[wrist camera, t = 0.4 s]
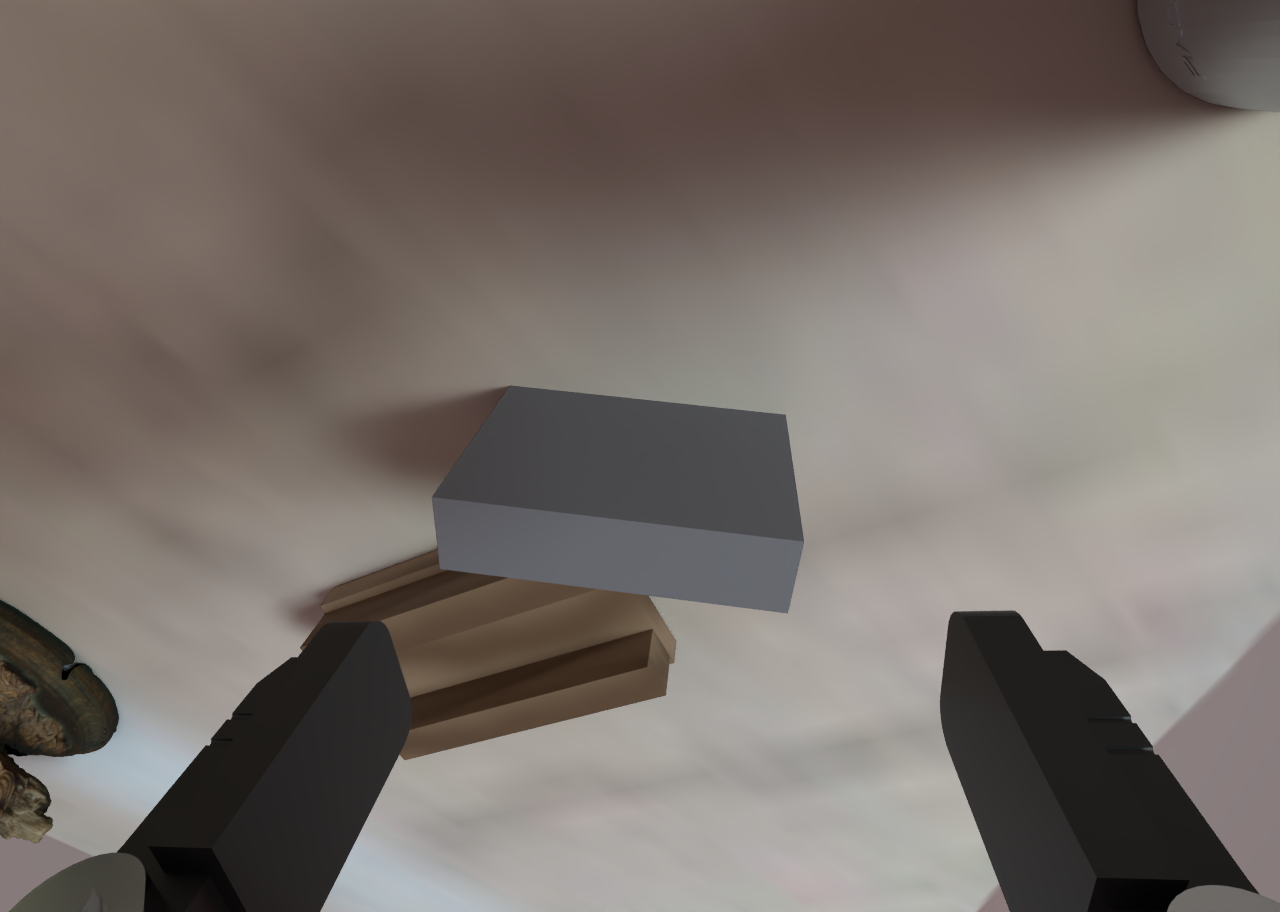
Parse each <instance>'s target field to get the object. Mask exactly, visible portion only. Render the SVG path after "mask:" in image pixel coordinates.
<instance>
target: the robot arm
mask: <svg viewBox="0 0 1280 912" xmlns="http://www.w3.org/2000/svg"><path fill="white" fill-rule="evenodd" d="M1137 6H1138V17H1139V21H1140V25H1141V28H1142V32H1143V36H1144V39H1145V43H1146V46H1147V48H1148V50H1149V51H1150V53H1151V55H1152V56H1153V58H1154V60H1155V61H1156V63H1157V65H1158V67H1159V68H1160V70H1161V71H1162V72H1163V73H1164V74H1165V75H1166V76H1167V77H1168V78H1169V79H1170V80H1171V81H1173V82H1174V83H1175V84H1176V85H1177V86H1178V87H1179V88H1180V89H1181V90H1182V91H1184V92H1187V93H1189V94H1191V95H1193V96H1195V97H1197V98H1199V99H1201V100H1203V101H1205V102H1207V103H1211V104H1216V105H1222V106H1227V107H1233V108H1238V109H1249V110H1260V111H1272V112H1280V0H1137ZM940 713H941V722H942V728H943V733H944V737H945V741H946V745H947V748H948V750H949V753H950V756H951V758H952V761H953V764H954V766H955V769H956V771H957V774H958V777H959V779H960V782H961V785H962V787H963V790H964V792H965V795H966V798H967V800H968V803H969V806H970V808H971V811H972V813H973V816H974V819H975V821H976V824H977V827H978V829H979V832H980V834H981V837H982V840H983V842H984V845H985V848H986V850H987V853H988V855H989V858H990V861H991V863H992V866H993V869H994V871H995V874H996V876H997V879H998V882H999V884H1000V887H1001V890H1002V892H1003V895H1004V897H1005V900H1006V903H1007V905H1008V908H1009V911H1010V912H1280V903H1278V902H1276V901H1274V900H1272V899H1269V898H1267V897H1265V896H1262V895H1260V894H1259V893H1258V892H1257V890H1256V889H1255V888H1254V887H1253V885H1252V884H1251V883H1250V882H1249V880H1248V879H1247V878H1246V876H1245V875H1244V873H1243V872H1242V870H1241V869H1240V868H1239V866H1238V865H1237V864H1236V862H1235V861H1234V860H1233V858H1232V857H1231V855H1230V854H1229V853H1228V851H1227V850H1226V848H1225V847H1224V845H1223V844H1222V843H1221V841H1220V840H1219V839H1218V837H1217V836H1216V834H1215V833H1214V831H1213V830H1212V829H1211V827H1210V826H1209V824H1208V823H1207V822H1206V820H1205V819H1204V817H1203V816H1202V815H1201V813H1200V812H1199V810H1198V809H1197V808H1196V806H1195V805H1194V804H1193V802H1192V801H1191V799H1190V798H1189V797H1188V795H1187V794H1186V792H1185V791H1184V790H1183V788H1182V787H1181V785H1180V784H1179V782H1178V781H1177V780H1176V778H1175V777H1174V775H1173V774H1172V773H1171V771H1170V770H1169V769H1168V768H1167V766H1166V764H1165V763H1164V762H1163V760H1162V759H1161V757H1160V756H1159V755H1155V754H1154V752H1153V746H1152V745H1151V743H1150V742H1149V741H1148V739H1147V738H1146V736H1145V735H1144V734H1143V732H1142V731H1141V729H1140V728H1139V727H1138V725H1137V724H1136V723H1132V721H1131V715H1130V714H1129V713H1128V711H1127V710H1126V708H1125V707H1124V706H1123V704H1122V703H1121V701H1120V700H1119V699H1118V697H1117V696H1116V694H1115V693H1114V692H1113V690H1112V689H1111V687H1110V686H1109V685H1108V683H1107V682H1106V681H1105V680H1104V679H1103V678H1102V677H1100V676H1099V675H1098V674H1096V673H1095V672H1094V671H1093V670H1091V669H1090V668H1089V667H1087V666H1086V665H1085V664H1083V663H1082V662H1081V661H1079V660H1078V659H1077V658H1075V657H1074V656H1073V655H1071V654H1070V653H1069V652H1067V651H1043V649H1042V648H1041V646H1040V645H1039V643H1038V641H1037V640H1036V638H1035V637H1034V635H1033V634H1032V632H1031V630H1030V629H1029V627H1028V626H1027V624H1026V623H1025V621H1024V620H1023V618H1022V617H1021V615H1020V614H1018V613H1017V612H1016V611H963V612H953V613H952V615H951V617H950V620H949V625H948V633H947V642H946V650H945V659H944V668H943V677H942V686H941V695H940ZM411 717H412V706H411V699H410V695H409V692H408V689H407V686H406V682H405V679H404V676H403V673H402V670H401V667H400V664H399V660H398V657H397V654H396V651H395V648H394V645H393V642H392V639H391V635H390V633H389V630H388V628H387V626H386V625H385V624H384V623H383V622H381V621H338V622H329V623H327V624H325V625H324V626H323V627H322V628H321V629H320V630H319V631H318V632H317V634H316V635H315V636H314V637H313V639H312V640H311V641H310V642H309V644H308V645H307V646H306V648H305V649H304V650H303V651H302V653H301V654H300V655H299V656H298V657H291V658H290V659H289V660H287V661H286V662H285V663H283V664H282V665H281V666H279V667H278V668H277V669H275V670H274V671H273V672H271V673H270V674H269V675H267V676H266V677H265V678H264V679H262V680H261V681H260V682H258V683H257V684H256V685H255V686H254V688H253V689H252V690H251V691H250V693H249V694H248V695H247V696H246V697H245V699H244V700H243V701H242V702H241V703H240V705H239V706H238V707H237V708H236V709H235V711H234V712H233V713H232V719H231V720H226V722H225V723H224V724H223V725H222V726H221V728H220V729H219V730H218V731H217V732H216V734H215V735H214V736H213V737H212V738H211V744H210V746H205V747H204V748H203V749H202V751H201V752H200V753H199V754H198V755H197V757H196V758H195V759H194V760H193V761H192V763H191V764H190V765H189V766H188V767H187V769H186V770H185V771H184V772H183V773H182V775H181V776H180V777H179V778H178V780H177V781H176V782H175V783H174V784H173V786H172V787H171V788H170V789H169V790H168V792H167V793H166V794H165V795H164V796H163V798H162V799H161V800H160V801H159V802H158V804H157V805H156V806H155V807H154V809H153V810H152V811H151V812H150V813H149V815H148V816H147V817H146V818H145V819H144V821H143V822H142V823H141V824H140V825H139V827H138V828H137V829H136V830H135V831H134V833H133V834H132V835H131V836H130V838H129V839H128V840H127V841H126V842H125V844H124V845H123V846H122V847H121V848H120V849H119V850H118V851H117V853H108V854H102V855H98V856H94V857H91V858H88V859H85V860H83V861H81V862H78V863H76V864H73V865H72V866H70V867H68V868H66V869H64V870H62V871H60V872H58V873H57V874H55V875H54V876H52V877H50V878H49V879H47V880H46V881H44V882H43V883H42V884H40V885H39V886H38V887H36V888H35V889H33V890H32V891H31V892H30V893H29V894H27V895H26V896H25V897H24V898H23V899H22V900H21V901H19V902H18V903H17V904H16V905H15V906H14V907H13V908H12V909H11V910H10V911H9V912H320V911H321V909H322V907H323V905H324V903H325V901H326V899H327V897H328V895H329V893H330V891H331V889H332V887H333V885H334V883H335V881H336V879H337V877H338V875H339V873H340V871H341V869H342V867H343V865H344V863H345V861H346V859H347V857H348V855H349V853H350V851H351V849H352V847H353V845H354V843H355V841H356V839H357V837H358V835H359V833H360V831H361V829H362V827H363V825H364V823H365V822H366V820H367V818H368V816H369V814H370V812H371V810H372V808H373V806H374V804H375V802H376V800H377V798H378V796H379V794H380V792H381V790H382V788H383V786H384V784H385V782H386V780H387V778H388V776H389V774H390V772H391V770H392V768H393V766H394V764H395V762H396V760H397V758H398V756H399V754H400V752H401V750H402V748H403V746H404V744H405V742H406V740H407V737H408V734H409V730H410V725H411Z"/></svg>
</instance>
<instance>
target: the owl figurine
mask: <svg viewBox="0 0 1280 912" xmlns="http://www.w3.org/2000/svg"><path fill="white" fill-rule="evenodd" d="M74 660H75V656H74V654H73V651H72V650H71V649H70V647H69V646H67V645H66V644H65V643H64V642H63V641H61V640H60V639H59V638H57V637H56V636H55V635H53V634H52V633H51V632H49V631H48V630H46V629H45V628H44V627H42V626H41V625H39V624H38V623H37V622H35V621H33V620H32V619H31V618H29V617H28V616H27V615H25V614H24V613H22V612H21V611H19V610H18V609H16V608H14V607H13V606H11V605H9V604H7V603H5V602H3V601H1V600H0V835H1V836H2V837H3V838H5V839H10V838H11V837H16V838H18V839H20V838H21V839H23V840H29V841H31V842H33V843H36V844H37V843H39V842H40V840H41V838H42V836H43V835H45V833H46V832H48V831H49V830H50V829H51V828H52V826H53V825H52V821H53V820H52V818H50V816H49V817H47V816H45V815H44V813H46V811H47V809H48V807H49V806H50V803H51V799H50V795H49V792H48V790H47V788H46V786H45V785H44V784H42V782H41V781H39V780H38V779H37V778H36V777H34V776H32V775H31V774H29V773H27V772H25V770H24V769H22V768H19V766H18V765H17V764H16V763H15V762H14V759H13V758H11V757H9V756H8V755H9V754H11V755H12V754H14V755H16V756H27V755H46V756H52V757H64V756H73V755H75V754H85V753H90V752H93V751H97V750H99V749H101V748H102V747H104V746H105V745H106V744H107V742H109V740H110V739H111V737H112V735H113V733H114V732H116V727H117V725H118V720H119V715H118V710H117V707H116V703H115V700H114V698H113V696H112V694H111V693H110V691H109V690H108V688H107V687H106V686H105V684H104V683H103V682H102V681H101V680H100V679H99V678H98V677H94V675H93V673H92V670H91V668H90V667H89V666H87V665H79V666H78V667H75V668H74V669H73V670H72V671H71V672H70V675H69V677H68V679H67V680H61V679H62V676H61V675H62V670H63V666H64V665H69V664H72V663H73V662H74Z"/></svg>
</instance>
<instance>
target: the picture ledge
mask: <svg viewBox="0 0 1280 912" xmlns="http://www.w3.org/2000/svg"><path fill="white" fill-rule="evenodd" d="M320 607H321V608H322V609H323V611H324V612H325V615H324V616H323V617H322V619H321V620H320V621H319V623H318V624H317V626H316V627H315V628H314V630H313V631H312V632H311V634H310V635H309V636H308V638H307V639H306V640H305V642H304V643H303V644H302V646H301V647H300V649H301V650H302V651H303V650H304V649H305V648H306V646H307V645H308V644H309V642H310V641H311V640H312V639H313V637H314V636H315V635H316V634H317V632H318V631H319V630H320V629H321V628H322V627H323V626H324V625H325V624H327V623H329V622H338V621H381V622H383V623H384V624H385V625H386V626H387V628H388V630H389V633H390V635H391V639H392V642H393V645H394V648H395V651H396V654H397V657H398V660H399V664H400V667H401V670H402V673H403V676H404V679H405V682H406V686H407V689H408V692H409V695H410V699H411V706H412V717H411V725H410V730H409V734H408V737H407V740H406V742H405V744H404V746H403V748H402V750H401V752H400V755H401V757H402V758H403V759H404V760H408V759H412V758H416V757H420V756H424V755H428V754H432V753H436V752H440V751H444V750H448V749H452V748H456V747H460V746H464V745H468V744H472V743H476V742H480V741H484V740H488V739H492V738H496V737H500V736H504V735H508V734H512V733H516V732H520V731H524V730H528V729H532V728H536V727H540V726H544V725H548V724H552V723H556V722H560V721H564V720H569V719H573V718H577V717H581V716H585V715H589V714H593V713H597V712H601V711H605V710H609V709H613V708H617V707H621V706H625V705H629V704H633V703H637V702H641V701H645V700H649V699H653V698H657V697H661V696H665V695H666V688H667V679H668V670H669V664H672V663H674V659H675V649H676V640H675V639H674V637H673V635H672V634H671V632H670V630H669V629H668V627H667V625H666V624H665V622H664V621H663V619H662V617H661V616H660V614H659V612H658V611H657V609H656V607H655V606H654V604H653V603H652V601H651V599H650V598H649V596H648V595H640V594H632V593H625V592H617V591H609V590H601V589H593V588H586V587H578V586H570V585H562V584H554V583H546V582H539V581H531V580H523V579H515V578H507V577H499V576H492V575H484V574H476V573H468V572H460V571H452V570H445V569H440V564H439V555H438V550H435V551H433V552H430V553H427V554H424V555H422V556H419V557H416V558H413V559H411V560H408V561H405V562H403V563H400V564H397V565H394V566H392V567H389V568H386V569H383V570H381V571H378V572H375V573H373V574H370V575H367V576H364V577H362V578H359V579H356V580H353V581H351V582H348V583H345V584H342V585H340V586H337V587H334V588H333V590H332V591H331V592H330V594H329V595H328V596H327V598H326V599H325V600H324V601H323V603H322V604H321V605H320Z"/></svg>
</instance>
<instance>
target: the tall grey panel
mask: <svg viewBox="0 0 1280 912" xmlns="http://www.w3.org/2000/svg"><path fill="white" fill-rule="evenodd" d="M432 502H433V511H434V520H435V528H436V537H437V546H438V555H439V564H440V569H445V570H452V571H460V572H468V573H476V574H484V575H492V576H499V577H507V578H515V579H523V580H531V581H539V582H546V583H554V584H562V585H570V586H578V587H586V588H593V589H601V590H609V591H617V592H625V593H632V594H640V595H648V596H656V597H664V598H672V599H679V600H687V601H695V602H703V603H711V604H719V605H726V606H734V607H742V608H750V609H758V610H766V611H773V612H781V613H788V610H789V606H790V602H791V597H792V593H793V588H794V584H795V579H796V575H797V571H798V566H799V562H800V557H801V553H802V549H803V544H804V538H803V531H802V524H801V517H800V510H799V504H798V497H797V490H796V483H795V476H794V469H793V462H792V455H791V448H790V442H789V435H788V428H787V421H786V415H782V414H773V413H763V412H754V411H745V410H735V409H726V408H716V407H707V406H697V405H688V404H679V403H669V402H660V401H650V400H641V399H631V398H622V397H613V396H603V395H594V394H584V393H575V392H565V391H556V390H547V389H537V388H528V387H518V386H509V388H508V389H507V391H506V392H505V393H504V395H503V396H502V398H501V399H500V401H499V402H498V403H497V405H496V406H495V408H494V409H493V411H492V412H491V413H490V415H489V416H488V418H487V419H486V421H485V422H484V423H483V425H482V426H481V428H480V429H479V431H478V432H477V433H476V435H475V436H474V438H473V439H472V441H471V442H470V444H469V445H468V446H467V448H466V449H465V451H464V452H463V454H462V455H461V456H460V458H459V459H458V461H457V462H456V464H455V465H454V466H453V468H452V469H451V471H450V472H449V474H448V475H447V476H446V478H445V479H444V481H443V482H442V484H441V485H440V486H439V488H438V489H437V491H436V492H435V494H434V495H433V496H432Z"/></svg>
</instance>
